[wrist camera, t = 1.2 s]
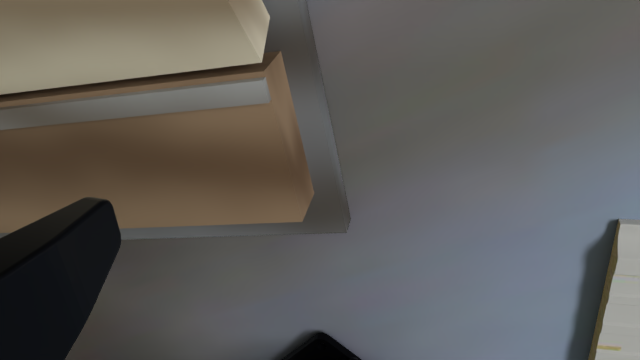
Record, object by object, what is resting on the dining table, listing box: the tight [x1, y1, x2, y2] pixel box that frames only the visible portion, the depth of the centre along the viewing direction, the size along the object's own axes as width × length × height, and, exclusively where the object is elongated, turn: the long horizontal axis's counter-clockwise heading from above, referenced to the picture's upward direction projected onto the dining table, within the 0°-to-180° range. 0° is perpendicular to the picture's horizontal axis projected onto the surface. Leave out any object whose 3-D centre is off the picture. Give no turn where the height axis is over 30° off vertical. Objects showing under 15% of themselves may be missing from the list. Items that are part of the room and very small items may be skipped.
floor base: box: [0, 0, 351, 240], centre depth 22 cm, size 18×22×3 cm
